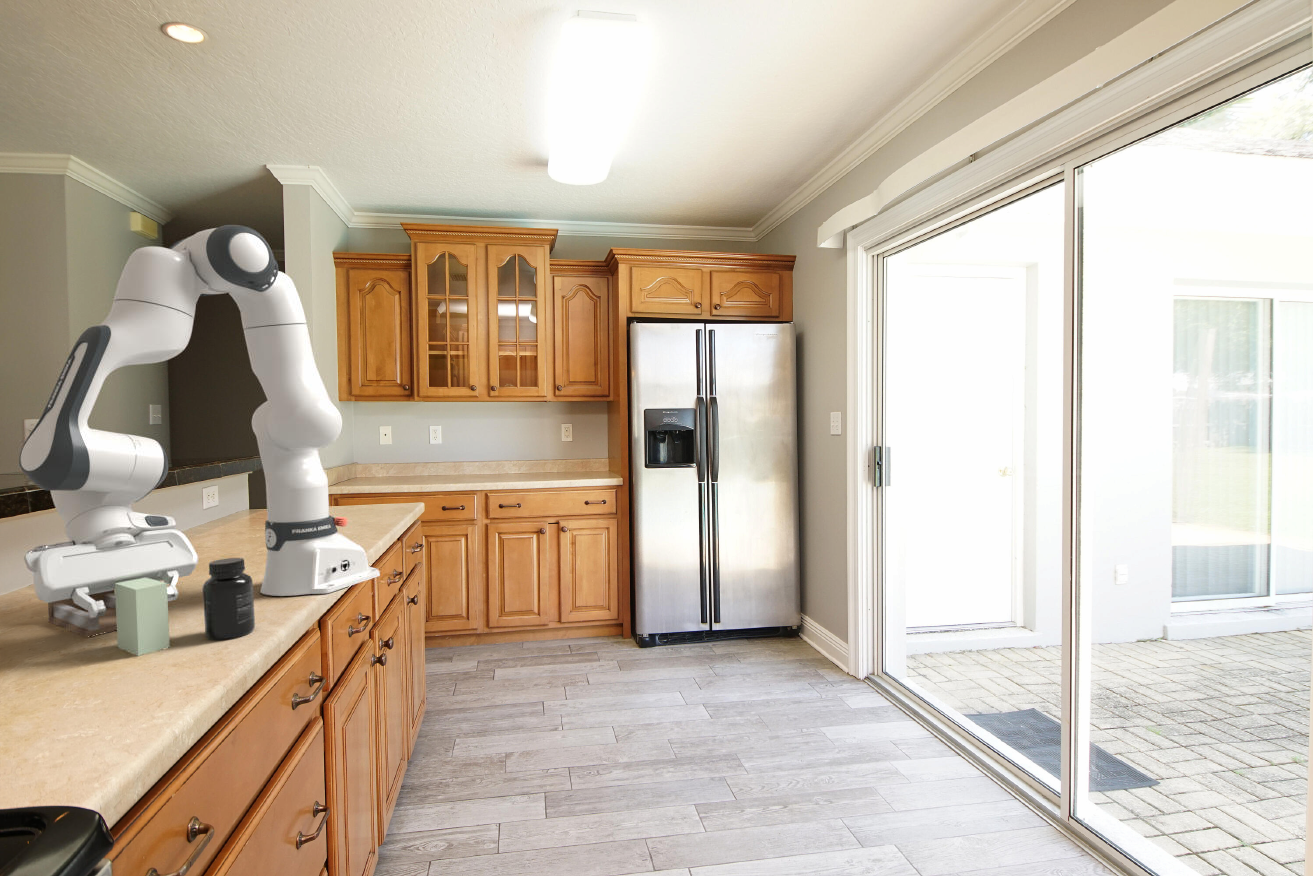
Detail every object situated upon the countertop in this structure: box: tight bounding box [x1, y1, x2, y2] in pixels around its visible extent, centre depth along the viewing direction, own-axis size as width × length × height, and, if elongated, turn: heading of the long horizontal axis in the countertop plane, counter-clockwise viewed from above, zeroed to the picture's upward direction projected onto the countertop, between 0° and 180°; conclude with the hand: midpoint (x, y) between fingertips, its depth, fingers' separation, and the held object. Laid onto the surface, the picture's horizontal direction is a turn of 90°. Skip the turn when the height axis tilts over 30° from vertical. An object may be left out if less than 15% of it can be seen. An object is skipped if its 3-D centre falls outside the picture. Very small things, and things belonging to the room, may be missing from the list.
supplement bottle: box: [202, 557, 256, 641], centre depth 107 cm, size 7×7×12 cm
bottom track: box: [47, 590, 117, 638], centre depth 113 cm, size 16×9×6 cm, turn 59°
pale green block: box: [115, 578, 170, 657], centre depth 101 cm, size 7×4×10 cm, turn 59°
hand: (137, 606), depth 101 cm, fingers open, 8 cm apart
